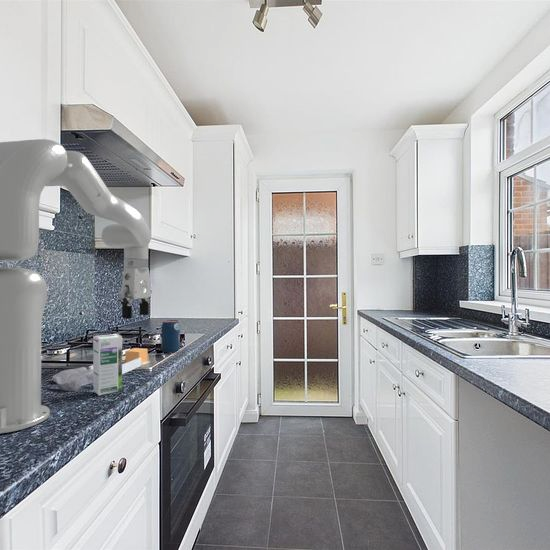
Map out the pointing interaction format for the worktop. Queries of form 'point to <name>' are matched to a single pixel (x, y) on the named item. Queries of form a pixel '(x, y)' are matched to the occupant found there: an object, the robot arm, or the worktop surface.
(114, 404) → the worktop surface
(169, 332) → the soda can
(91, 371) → the stone block
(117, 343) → the syrup box
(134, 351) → the orange block
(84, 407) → the worktop surface
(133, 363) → the channel walls
